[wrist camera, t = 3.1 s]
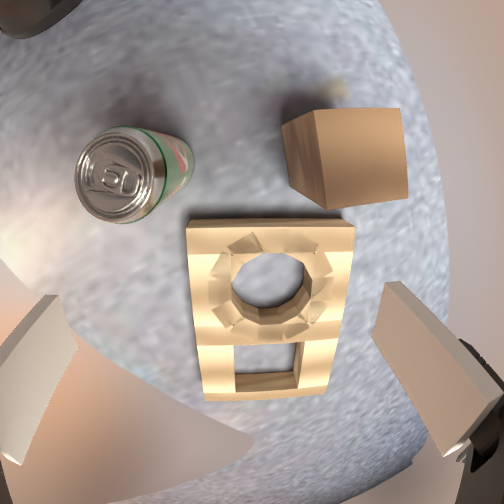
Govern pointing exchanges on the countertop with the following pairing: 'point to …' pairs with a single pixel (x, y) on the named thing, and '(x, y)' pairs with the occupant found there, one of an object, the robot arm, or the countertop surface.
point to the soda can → (131, 173)
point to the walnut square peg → (347, 156)
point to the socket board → (267, 319)
